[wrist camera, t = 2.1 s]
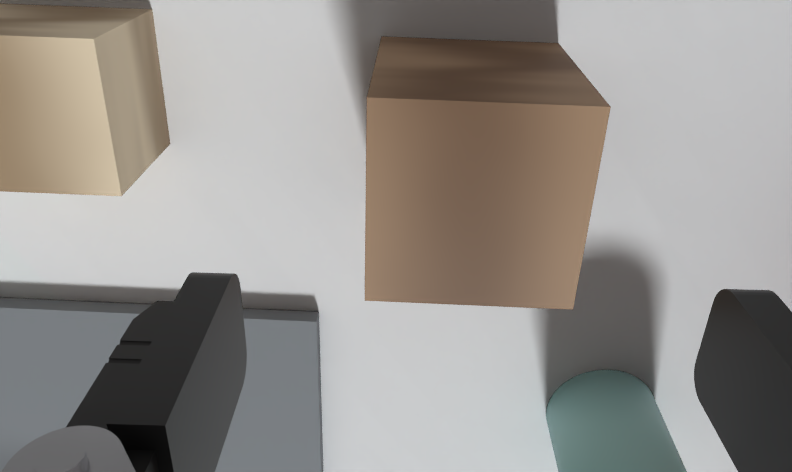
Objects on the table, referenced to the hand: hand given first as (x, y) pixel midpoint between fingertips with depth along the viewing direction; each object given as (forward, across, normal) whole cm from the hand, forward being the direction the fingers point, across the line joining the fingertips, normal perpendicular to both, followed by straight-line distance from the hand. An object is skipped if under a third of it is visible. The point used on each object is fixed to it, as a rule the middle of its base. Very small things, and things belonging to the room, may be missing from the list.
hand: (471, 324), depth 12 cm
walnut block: (+10, 0, 0) cm, 10 cm away
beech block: (+10, +11, -1) cm, 15 cm away
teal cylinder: (+10, -6, +11) cm, 16 cm away
